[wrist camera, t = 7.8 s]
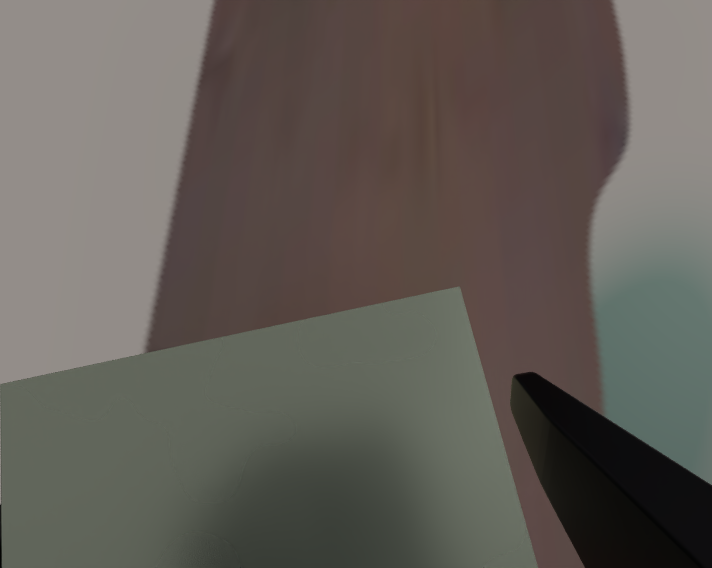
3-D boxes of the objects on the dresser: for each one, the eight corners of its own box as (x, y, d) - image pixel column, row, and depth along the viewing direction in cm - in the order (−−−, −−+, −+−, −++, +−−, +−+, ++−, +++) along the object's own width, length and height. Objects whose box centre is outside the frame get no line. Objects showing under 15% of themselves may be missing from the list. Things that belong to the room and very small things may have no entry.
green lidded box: (430, 507, 16) (623, 872, 4) (278, 541, 15) (7, 1028, 4) (394, 355, 17) (458, 286, 5) (255, 385, 17) (0, 384, 5)
